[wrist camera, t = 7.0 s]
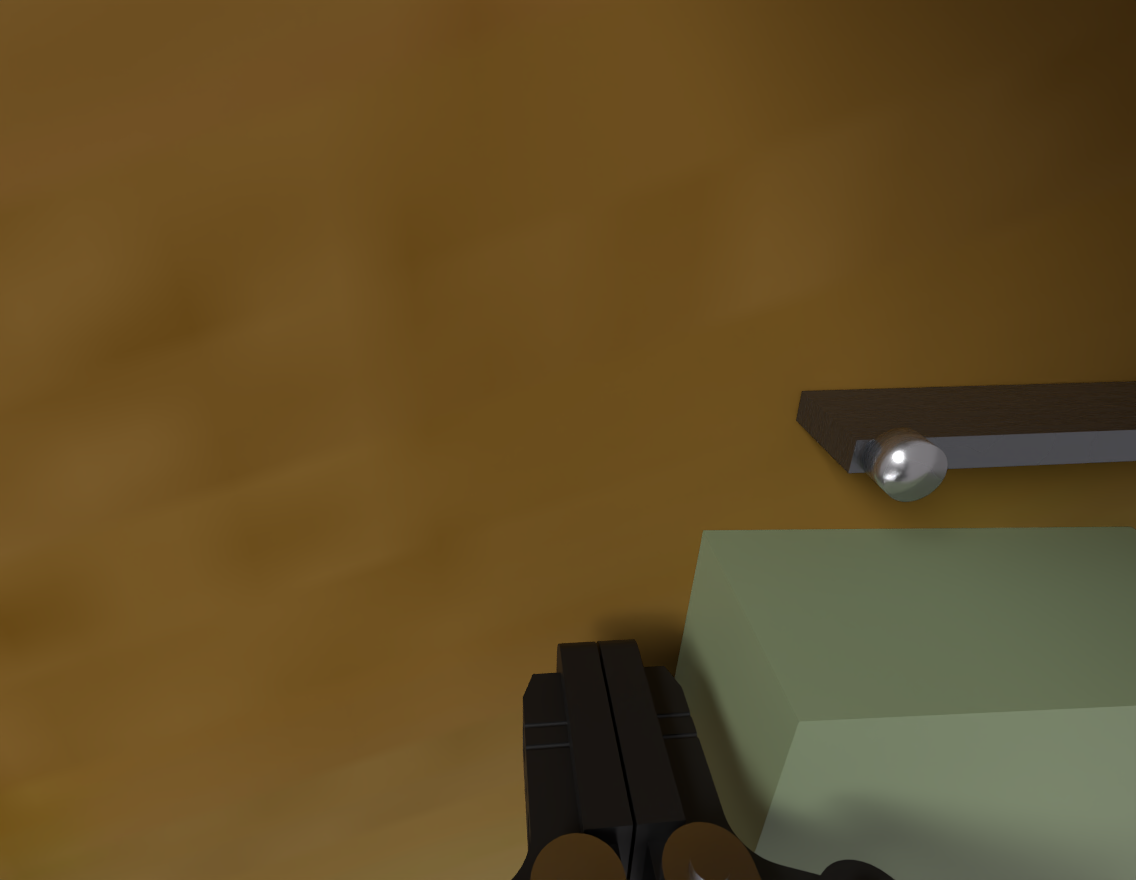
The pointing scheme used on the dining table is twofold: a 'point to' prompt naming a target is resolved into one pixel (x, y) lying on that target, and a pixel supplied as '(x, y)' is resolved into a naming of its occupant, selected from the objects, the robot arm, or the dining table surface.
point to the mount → (969, 429)
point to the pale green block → (921, 697)
